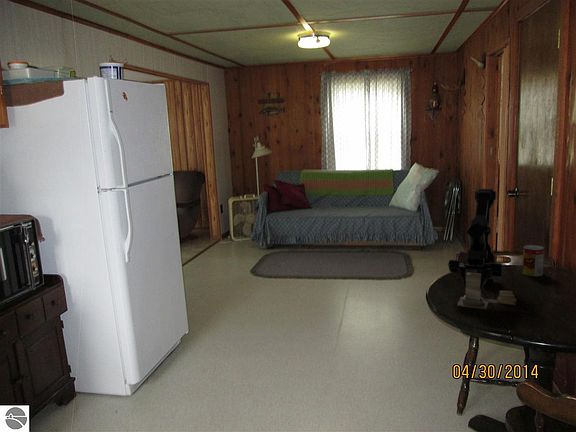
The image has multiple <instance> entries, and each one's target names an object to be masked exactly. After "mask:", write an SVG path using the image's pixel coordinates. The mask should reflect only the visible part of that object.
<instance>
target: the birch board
mask: <svg viewBox="0 0 576 432" xmlns="http://www.w3.org/2000/svg"><path fill="white" fill-rule="evenodd" d="M480 284H481V273H476V272H469V271H468V272H467V271H466V288H465V295H466V299H470V300H479V301H481V297H482V289H480Z"/></svg>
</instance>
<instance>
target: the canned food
mask: <svg viewBox="0 0 576 432" xmlns="http://www.w3.org/2000/svg"><path fill="white" fill-rule="evenodd" d="M522 249H523V250H522V253H523V254H522V274H523V275H525V276H529V277H541V276H543V274H544V273H543V271H544V258H545V257H544V253H545V250H544V249H545V247H544V246H542V245H536V244H527V245H524V246H523V248H522Z"/></svg>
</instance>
